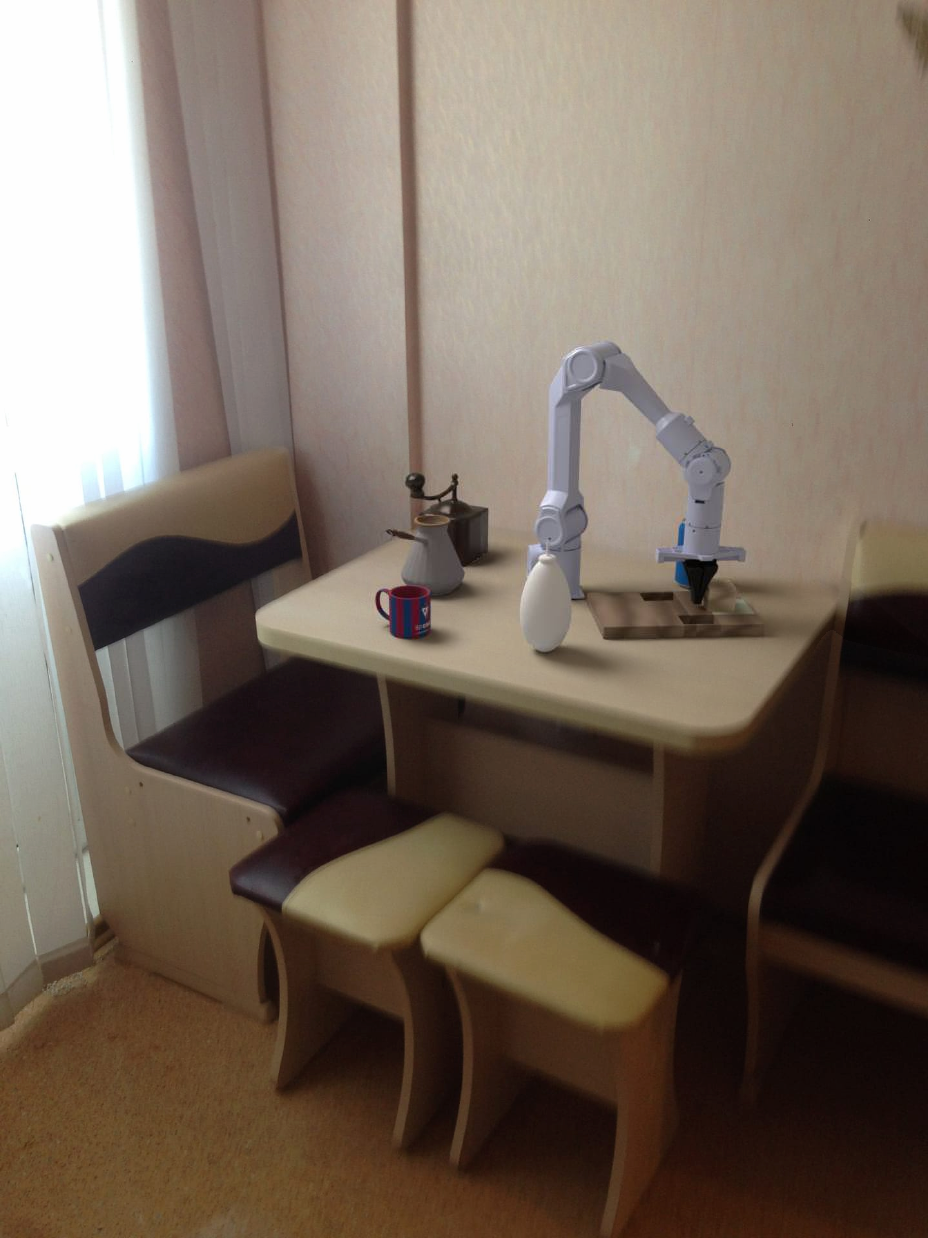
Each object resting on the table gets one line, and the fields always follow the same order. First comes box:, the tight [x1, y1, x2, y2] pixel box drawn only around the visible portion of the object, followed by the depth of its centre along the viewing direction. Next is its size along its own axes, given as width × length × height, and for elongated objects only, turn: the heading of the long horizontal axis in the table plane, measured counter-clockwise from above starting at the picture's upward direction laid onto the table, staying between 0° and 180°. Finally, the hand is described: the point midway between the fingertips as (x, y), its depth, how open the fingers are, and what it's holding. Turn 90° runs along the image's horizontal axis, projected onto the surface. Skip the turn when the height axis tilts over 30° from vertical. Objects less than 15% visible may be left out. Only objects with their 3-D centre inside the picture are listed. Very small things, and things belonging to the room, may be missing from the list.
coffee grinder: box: [404, 472, 490, 567], centre depth 206 cm, size 16×11×18 cm
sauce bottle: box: [519, 539, 573, 653], centre depth 165 cm, size 8×8×18 cm
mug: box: [374, 584, 432, 640], centre depth 175 cm, size 7×10×7 cm
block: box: [702, 579, 738, 612], centre depth 179 cm, size 4×4×4 cm
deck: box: [586, 590, 765, 640], centre depth 180 cm, size 26×16×2 cm, turn 93°
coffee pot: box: [380, 515, 466, 597], centre depth 187 cm, size 21×12×15 cm, turn 152°
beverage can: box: [674, 517, 690, 590], centre depth 194 cm, size 6×6×12 cm
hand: (696, 602), depth 179 cm, fingers closed
